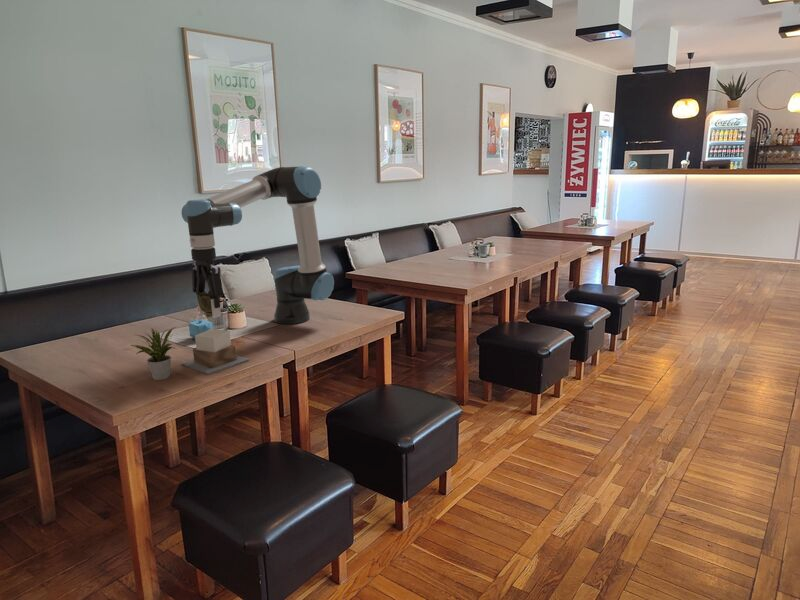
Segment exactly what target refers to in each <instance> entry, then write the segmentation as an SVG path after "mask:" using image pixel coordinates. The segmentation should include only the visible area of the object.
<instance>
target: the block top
mask: <svg viewBox="0 0 800 600" xmlns="http://www.w3.org/2000/svg"><path fill="white" fill-rule="evenodd" d="M231 339H232V338H231V331H230V330H224V329H215V328H213V329H210V330H208V331H205V332H203V333H200V334H197V335H195V339H194V341H195V348H196V349H197V350H203V351H209V352H217V351H219V350H221V349H224V348H226V347H228V346H230V345H232V340H231Z"/></svg>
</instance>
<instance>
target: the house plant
mask: <svg viewBox="0 0 800 600" xmlns="http://www.w3.org/2000/svg"><path fill="white" fill-rule="evenodd" d="M176 328H177V326H176V327H172V328H171V329H166V330H164V331H163V332H162V334H160V332H159V331H158V330H154V328H153V327H151V330H150V331H151V333H152V336H151V335H150V334H148V333H146V332H142V333H143V334H145V335H146V336H148V337H149V338H150V339H149V338H148V337H146V336H144V335H140V334H136V336H137V337H139V338H140V339H143V340H145V341H146V342H145V341H143V340H142V342H143V343H145V344H146V345H148V347H147V346H143V345H138V344H130V346H131V347H134V348H136V349H138V352H136V353H135V355H137V354H139V353H140V354H141V353H145V354H147V355H148V356H150V357H149V358H148V359H146V361H147V365H148V367H149V370H150V373H151V377H152V379H153V380H155V381H159V380H161V381H162V380H167V379H168V378H169V377H171V366H172V365H171V362H172V361H171V360H172V357H171V355H167V352H169V350H171V349H175V350H176V348H175V347H173V346H171V345H174V343H168V342H169V341H170V339H171V338H172V336H170V335H171V333H172V331H173V330H174V329H176ZM165 332H166V333H165ZM164 334H165V336H164ZM140 339H137V338H136V340H137V341H140ZM162 339H163V342H162Z"/></svg>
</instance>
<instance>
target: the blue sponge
mask: <svg viewBox="0 0 800 600" xmlns="http://www.w3.org/2000/svg"><path fill="white" fill-rule="evenodd" d="M188 329H189V331H188V332H189V337H190V338H193V340H195V335H197V334H200V333H203V332H205V331H208V330H210V329H214V325H213V322H212V321H208V320H206V319H198V320H194V319H193V318H192V319H190V322H188Z"/></svg>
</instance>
